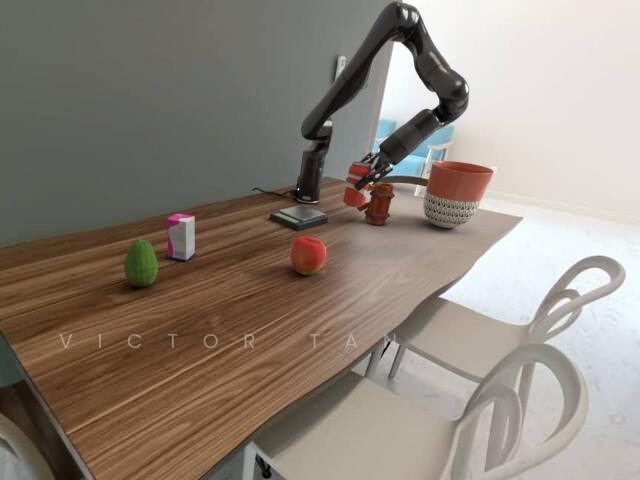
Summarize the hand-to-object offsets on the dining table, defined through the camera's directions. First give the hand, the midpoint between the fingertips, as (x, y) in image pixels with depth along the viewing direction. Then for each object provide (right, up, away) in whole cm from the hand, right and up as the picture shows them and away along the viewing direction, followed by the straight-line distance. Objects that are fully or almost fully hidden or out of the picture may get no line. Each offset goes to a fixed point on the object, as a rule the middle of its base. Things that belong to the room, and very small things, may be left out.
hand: (351, 185), depth 114 cm
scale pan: (-10, -2, +29) cm, 30 cm away
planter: (+44, -6, +33) cm, 55 cm away
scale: (-11, -4, +29) cm, 31 cm away
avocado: (-56, -30, -18) cm, 66 cm away
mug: (+15, -5, +32) cm, 36 cm away
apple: (-15, -26, -7) cm, 31 cm away
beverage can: (+1, -5, +3) cm, 6 cm away
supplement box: (-49, -21, -3) cm, 54 cm away
